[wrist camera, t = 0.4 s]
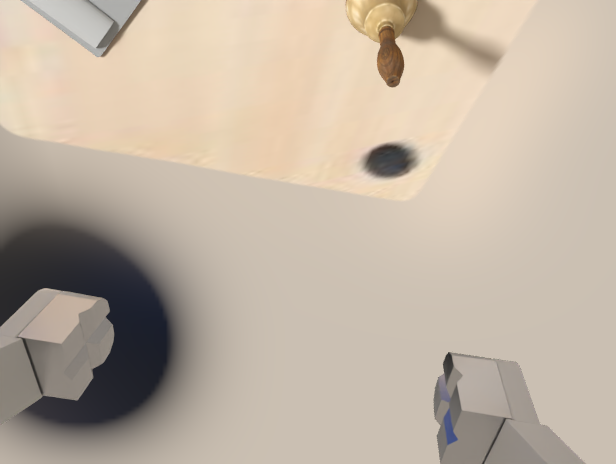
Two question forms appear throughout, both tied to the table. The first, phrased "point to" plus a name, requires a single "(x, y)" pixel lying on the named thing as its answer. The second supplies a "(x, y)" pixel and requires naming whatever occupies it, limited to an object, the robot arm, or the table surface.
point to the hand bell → (383, 30)
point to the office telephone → (87, 19)
